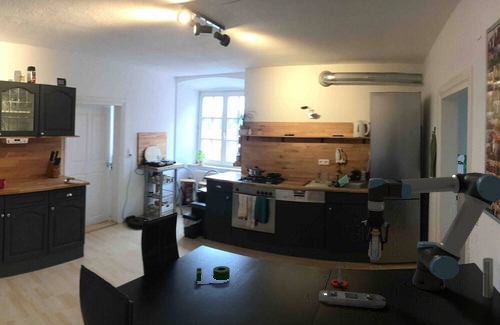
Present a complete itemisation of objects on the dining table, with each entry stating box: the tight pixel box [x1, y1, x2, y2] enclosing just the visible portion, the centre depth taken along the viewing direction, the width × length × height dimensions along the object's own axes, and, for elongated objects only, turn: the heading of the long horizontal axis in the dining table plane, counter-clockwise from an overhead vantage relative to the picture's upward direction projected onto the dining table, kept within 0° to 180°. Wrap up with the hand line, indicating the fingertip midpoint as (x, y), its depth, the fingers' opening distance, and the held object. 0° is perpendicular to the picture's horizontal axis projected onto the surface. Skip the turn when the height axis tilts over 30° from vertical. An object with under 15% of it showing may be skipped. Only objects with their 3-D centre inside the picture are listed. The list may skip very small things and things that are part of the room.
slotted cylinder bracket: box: [195, 265, 231, 282], centre depth 185 cm, size 18×9×6 cm, turn 98°
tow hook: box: [330, 262, 348, 289], centre depth 180 cm, size 8×13×9 cm
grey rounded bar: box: [318, 289, 386, 309], centre depth 159 cm, size 30×8×4 cm, turn 77°
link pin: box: [370, 229, 382, 262], centre depth 167 cm, size 5×5×14 cm
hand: (374, 256), depth 168 cm, fingers closed on link pin, 4 cm apart
